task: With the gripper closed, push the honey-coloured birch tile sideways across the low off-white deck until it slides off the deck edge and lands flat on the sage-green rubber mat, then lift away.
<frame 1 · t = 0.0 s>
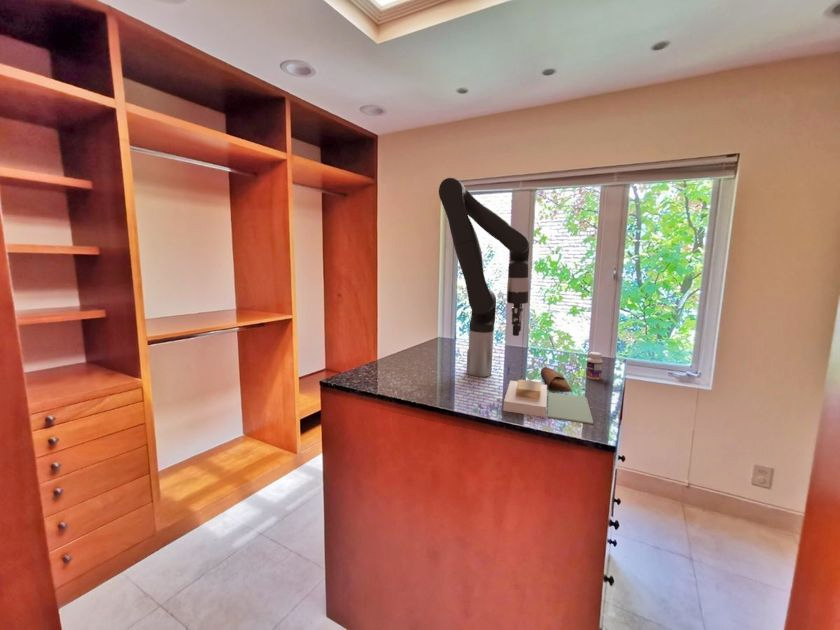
hand: (516, 333, 139), 17 cm above the countertop, tool pointing down, fingers open, 8 cm apart
birch tile: (528, 392, 117), point 3 cm above the countertop, touching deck
mat: (568, 407, 114), on the countertop
sunglasses case: (555, 384, 136), on the countertop
pill bottle: (593, 378, 143), on the countertop
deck: (526, 401, 118), on the countertop
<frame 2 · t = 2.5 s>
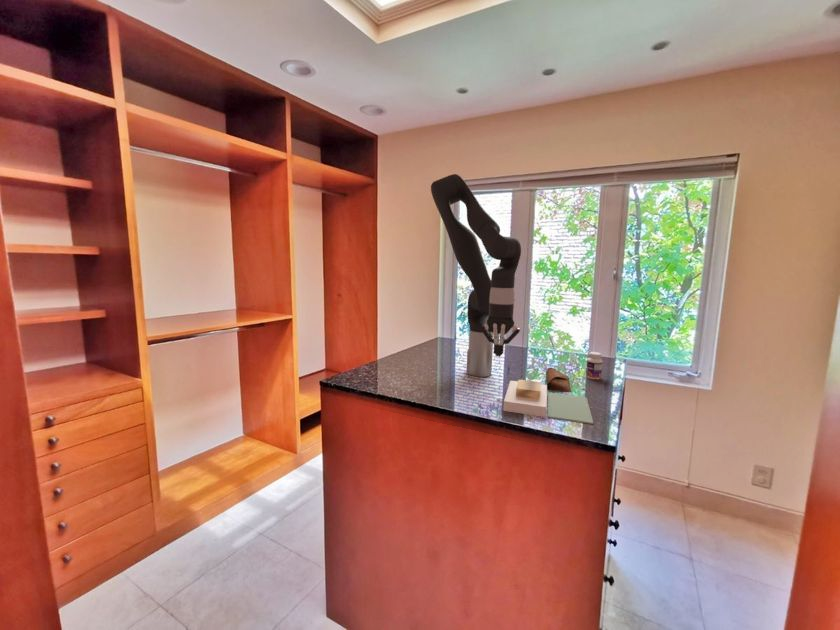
hand: (498, 355, 118), 14 cm above the countertop, tool pointing down, fingers closed
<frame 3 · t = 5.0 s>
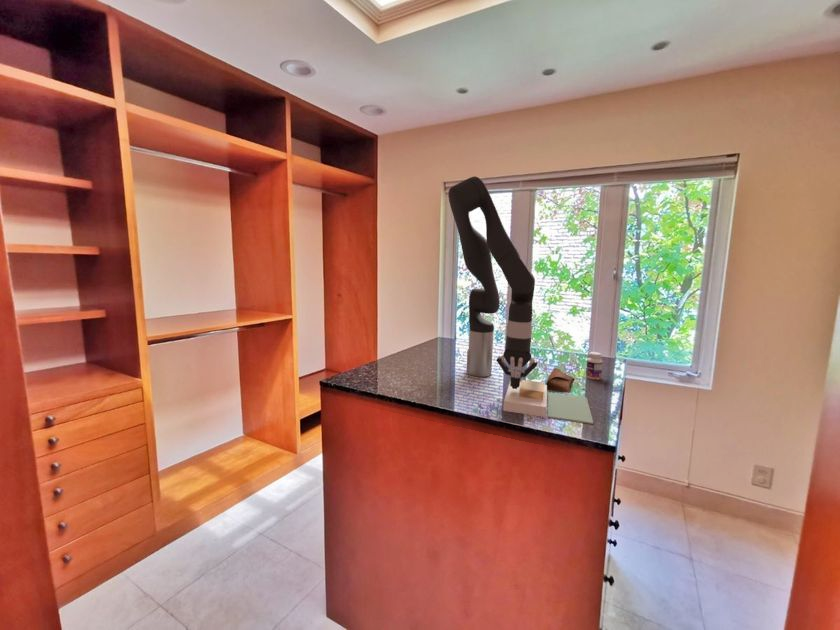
hand: (514, 388, 118), 4 cm above the countertop, tool pointing down, fingers closed
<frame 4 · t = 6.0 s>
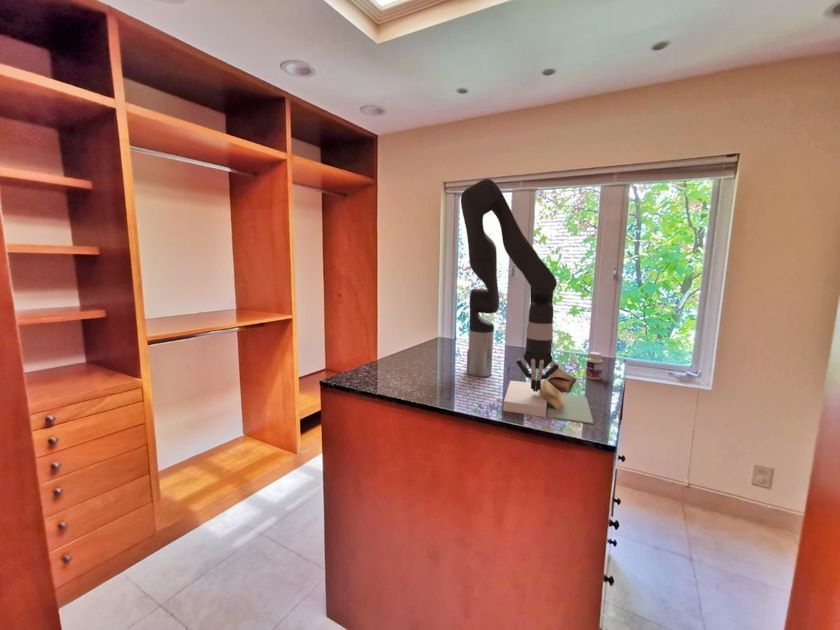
hand: (535, 390, 116), 4 cm above the countertop, tool pointing down, fingers closed
birch tile: (548, 396, 115), point 3 cm above the countertop, tilted 37°, touching gripper
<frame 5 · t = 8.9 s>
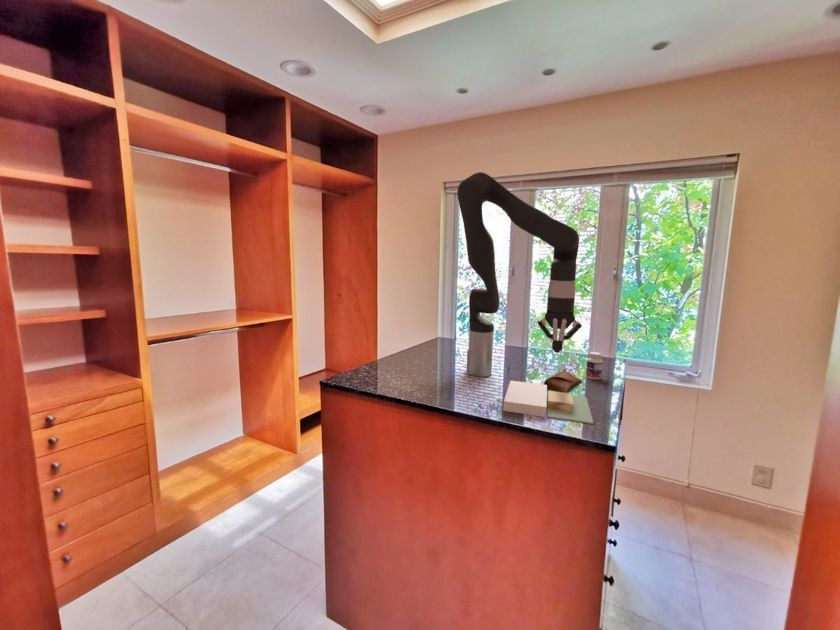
hand: (556, 351, 113), 17 cm above the countertop, tool pointing down, fingers closed
birch tile: (559, 404, 115), resting on mat
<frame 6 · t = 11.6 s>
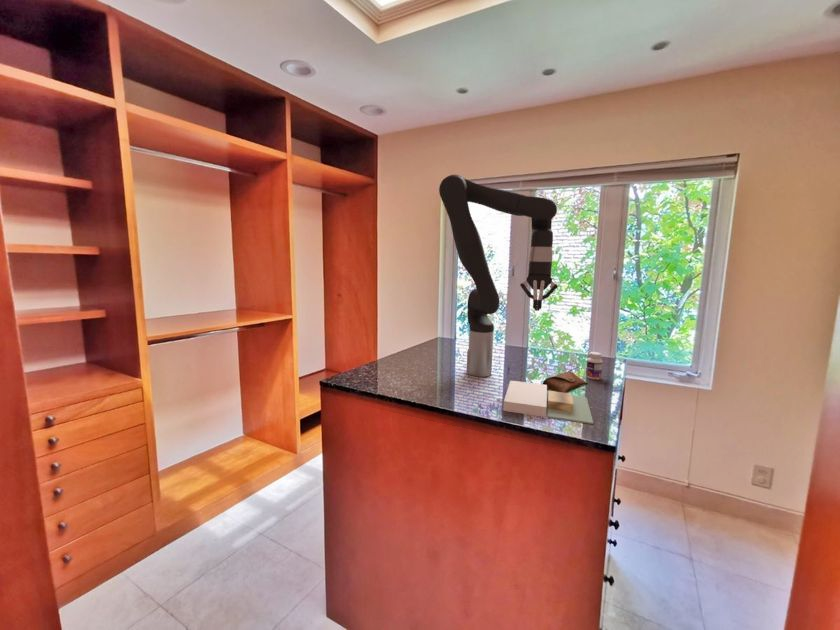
hand: (537, 310, 130), 27 cm above the countertop, tool pointing down, fingers closed
at the end: birch tile resting on mat; birch tile inside the target area (2.8 cm from its centre), resting on mat; birch tile tilted 0° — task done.
